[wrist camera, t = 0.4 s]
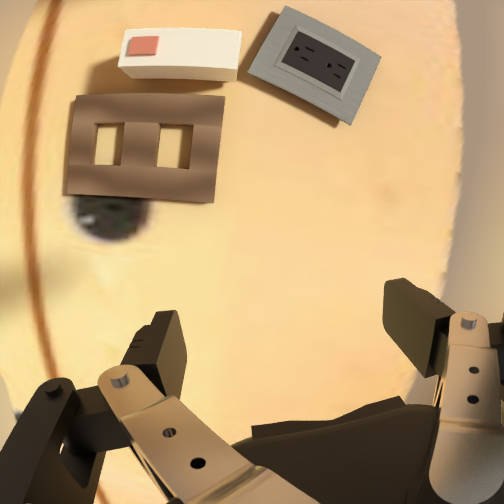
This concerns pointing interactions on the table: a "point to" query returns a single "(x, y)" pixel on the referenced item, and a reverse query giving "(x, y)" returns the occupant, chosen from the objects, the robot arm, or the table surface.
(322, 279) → the table surface
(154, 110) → the brown wooden slotted board
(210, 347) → the table surface
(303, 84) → the electrical outlet
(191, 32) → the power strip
